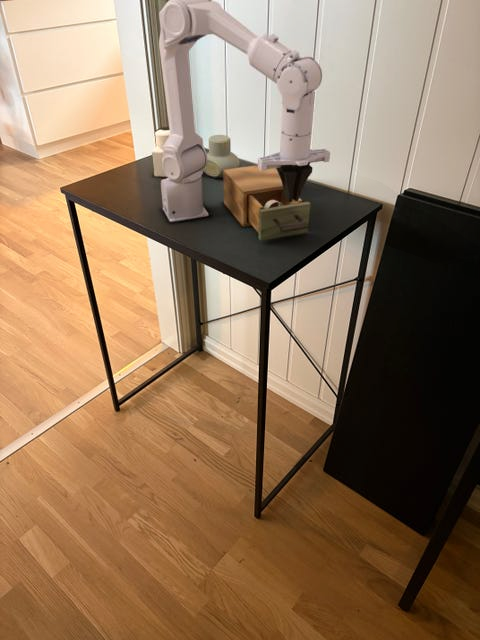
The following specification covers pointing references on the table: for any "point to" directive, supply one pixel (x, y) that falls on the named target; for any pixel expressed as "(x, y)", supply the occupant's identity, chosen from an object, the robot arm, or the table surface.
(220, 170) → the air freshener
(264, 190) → the cabinet
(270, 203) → the wristwatch
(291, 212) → the drawer
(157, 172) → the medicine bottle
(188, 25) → the robot arm
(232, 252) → the table surface
